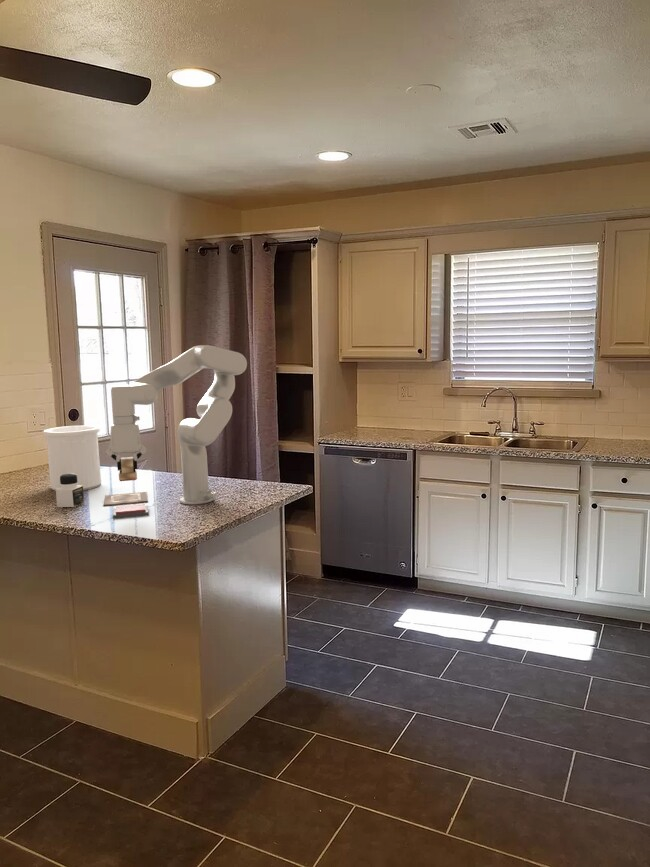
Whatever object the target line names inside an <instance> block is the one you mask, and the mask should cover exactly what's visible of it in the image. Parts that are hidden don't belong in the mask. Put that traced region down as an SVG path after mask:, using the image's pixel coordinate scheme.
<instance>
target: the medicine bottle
mask: <svg viewBox="0 0 650 867" xmlns="http://www.w3.org/2000/svg"><path fill="white" fill-rule="evenodd" d="M60 484H61V486H62V487H60V488H57V489H56V491H55V496H56V507H57V508H63V507H75V508H76V506H77V507H78V505H79V506H81V505H84V504H85V497H84V490H83V486H82V485H77V484H78V482H77V475H76V474H63V475H61V476H60ZM80 504H81V505H80Z"/></svg>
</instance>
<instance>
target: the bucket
mask: <svg viewBox="0 0 650 867" xmlns="http://www.w3.org/2000/svg"><path fill="white" fill-rule="evenodd" d="M99 432H100V426H97V425H89V424H88V425H83V424H82V425H68V426H67V425H66V426H58V427H52V428H47V429H44V430H43V432H42V434H43V436H44V437H45V438H46V450H47V459H48V460H47V461H48V462H47V463H48V471H49V484H50V485H49V486H50V488H51V490H52V491H54V492H56V489H57V488H60V487H62V486H61V484H60V476H61V475H63V474H76V475H77V482H78V484H77V485H82V486H83V491H87V490H92V489H95V488H98V487H99V486H100V485H101V484H102V477H101V476H102V475H101V464H100V463H101V462H100V448H99V439H98V438H99V436H98V433H99Z"/></svg>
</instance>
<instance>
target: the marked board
mask: <svg viewBox="0 0 650 867" xmlns="http://www.w3.org/2000/svg"><path fill="white" fill-rule="evenodd" d="M147 492H148V491H141V492H140V491H139V492H130V493H127V492H126V493H118V494H108V495H107V494H106V495H104V500H103V507H111V506H110V505H113V506H121V505H122V506H124V505H131V504H132V505H135V504H145V503H148V502H149V501H148V493H147ZM144 502H145V503H144ZM123 504H124V505H123Z"/></svg>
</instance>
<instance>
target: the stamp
mask: <svg viewBox="0 0 650 867" xmlns="http://www.w3.org/2000/svg"><path fill="white" fill-rule="evenodd" d="M133 458H134V457H133V456H129V457H128V456H127V457H120V459H121V469H122V473H120V470H119V471H118V480H119V482H126V481H127V482H128V481H130V482H131V481H137V480H138V474H137V472H138V471H137V470H138V469H135V472H134V470H133Z"/></svg>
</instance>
